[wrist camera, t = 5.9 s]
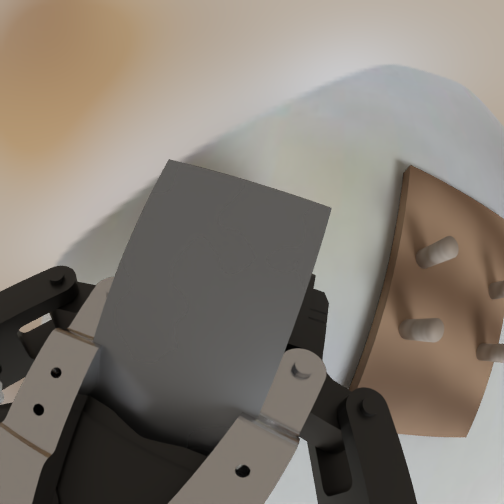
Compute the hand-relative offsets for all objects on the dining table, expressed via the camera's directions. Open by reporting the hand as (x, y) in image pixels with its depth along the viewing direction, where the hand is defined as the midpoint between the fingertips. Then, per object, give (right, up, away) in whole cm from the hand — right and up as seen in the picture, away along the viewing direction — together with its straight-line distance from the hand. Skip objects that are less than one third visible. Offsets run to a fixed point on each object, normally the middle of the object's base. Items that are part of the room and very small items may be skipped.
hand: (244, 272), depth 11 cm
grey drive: (0, -3, +4) cm, 5 cm away
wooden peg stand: (+13, -3, +4) cm, 14 cm away
